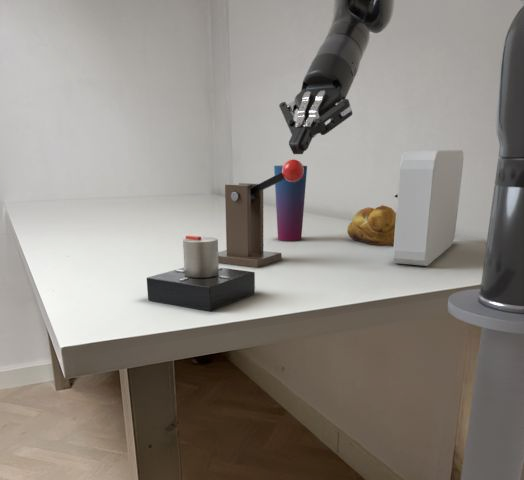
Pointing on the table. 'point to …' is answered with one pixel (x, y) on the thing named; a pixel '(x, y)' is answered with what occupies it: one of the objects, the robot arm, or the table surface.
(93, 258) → the table surface
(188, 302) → the black square base
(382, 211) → the bread roll
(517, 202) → the robot arm
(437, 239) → the rounded white slab
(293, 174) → the lever
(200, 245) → the knob
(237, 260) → the brown lever stand
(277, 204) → the cup
